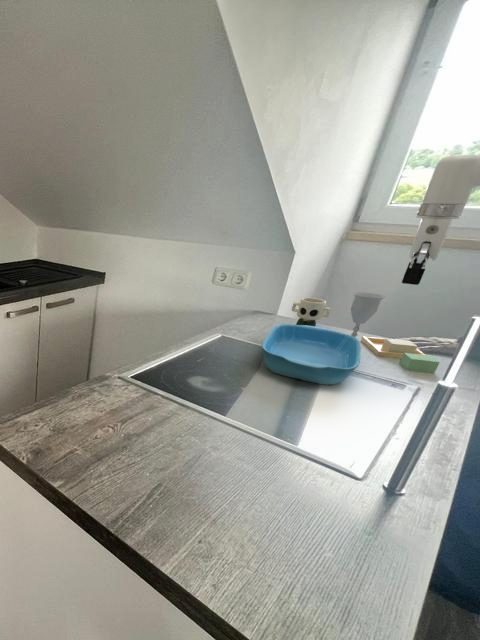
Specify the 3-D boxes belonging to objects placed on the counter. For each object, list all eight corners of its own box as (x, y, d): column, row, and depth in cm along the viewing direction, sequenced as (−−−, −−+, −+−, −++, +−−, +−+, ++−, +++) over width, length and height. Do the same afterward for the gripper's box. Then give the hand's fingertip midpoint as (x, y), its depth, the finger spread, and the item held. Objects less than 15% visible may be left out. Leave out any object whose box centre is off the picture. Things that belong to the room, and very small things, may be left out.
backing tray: (404, 346, 129) (407, 340, 128) (426, 363, 116) (429, 357, 116) (360, 341, 133) (362, 336, 132) (376, 357, 121) (379, 351, 120)
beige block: (404, 352, 123) (410, 340, 121) (412, 358, 119) (417, 346, 117) (380, 349, 125) (385, 338, 123) (386, 355, 121) (391, 343, 119)
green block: (425, 368, 114) (430, 355, 112) (433, 375, 110) (439, 362, 108) (398, 364, 116) (403, 352, 114) (405, 371, 112) (411, 358, 110)
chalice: (357, 345, 130) (378, 293, 123) (367, 353, 124) (389, 298, 117) (331, 343, 132) (349, 291, 125) (340, 350, 126) (359, 297, 119)
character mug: (282, 333, 142) (292, 299, 136) (287, 329, 146) (297, 295, 141) (318, 341, 134) (330, 305, 129) (323, 336, 138) (335, 301, 133)
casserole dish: (350, 398, 99) (360, 373, 96) (250, 374, 112) (256, 352, 109) (354, 354, 124) (362, 333, 121) (271, 338, 137) (277, 319, 134)
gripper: (463, 214, 87) (430, 288, 94) (460, 210, 98) (431, 277, 105) (416, 213, 92) (388, 284, 99) (419, 209, 103) (393, 273, 110)
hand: (410, 280), depth 102 cm, fingers open, 9 cm apart
